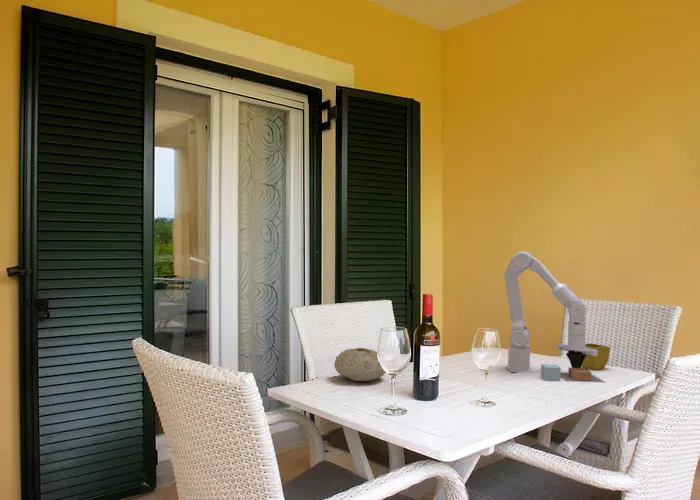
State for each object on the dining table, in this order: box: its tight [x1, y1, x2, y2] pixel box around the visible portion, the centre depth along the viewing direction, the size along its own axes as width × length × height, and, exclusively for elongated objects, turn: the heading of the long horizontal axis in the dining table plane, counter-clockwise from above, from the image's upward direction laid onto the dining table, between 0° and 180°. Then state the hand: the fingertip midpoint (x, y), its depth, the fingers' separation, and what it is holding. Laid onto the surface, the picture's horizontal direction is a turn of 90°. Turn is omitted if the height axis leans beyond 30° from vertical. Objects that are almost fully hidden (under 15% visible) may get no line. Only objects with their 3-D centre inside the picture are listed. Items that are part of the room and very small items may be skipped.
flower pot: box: [581, 342, 611, 371], centre depth 202 cm, size 9×9×9 cm
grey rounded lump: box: [333, 347, 387, 382], centre depth 179 cm, size 18×18×10 cm
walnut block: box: [567, 367, 592, 381], centre depth 184 cm, size 6×6×3 cm
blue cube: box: [540, 363, 562, 382], centre depth 183 cm, size 5×5×5 cm
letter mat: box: [560, 372, 607, 384], centre depth 186 cm, size 13×13×1 cm
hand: (576, 372), depth 189 cm, fingers closed
